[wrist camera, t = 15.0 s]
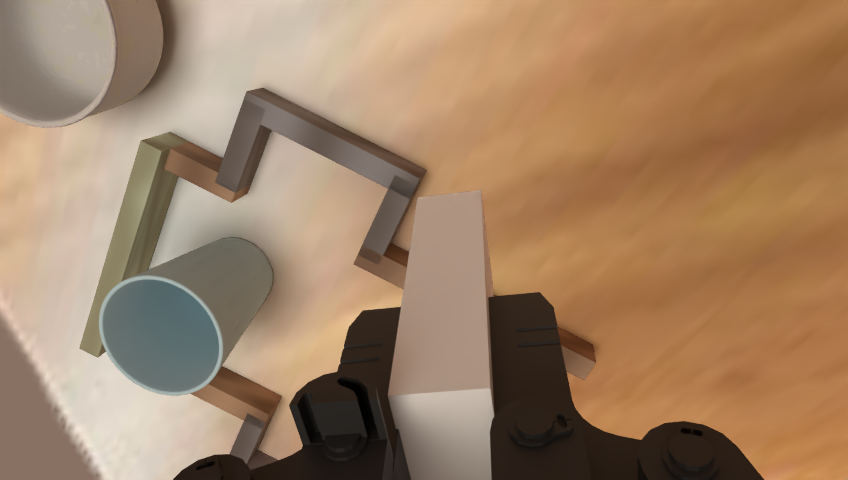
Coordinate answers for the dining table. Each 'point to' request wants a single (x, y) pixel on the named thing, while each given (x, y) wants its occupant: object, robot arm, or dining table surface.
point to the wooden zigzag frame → (231, 181)
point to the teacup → (75, 57)
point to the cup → (184, 315)
